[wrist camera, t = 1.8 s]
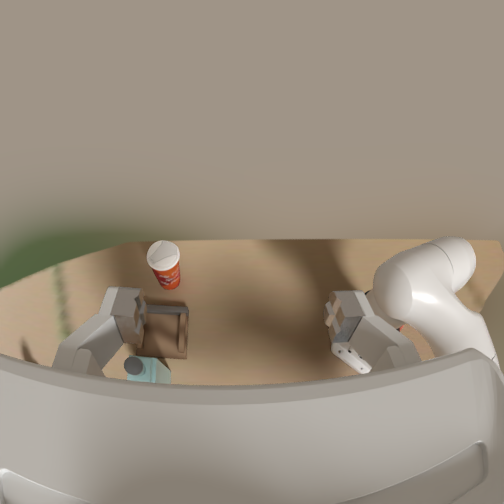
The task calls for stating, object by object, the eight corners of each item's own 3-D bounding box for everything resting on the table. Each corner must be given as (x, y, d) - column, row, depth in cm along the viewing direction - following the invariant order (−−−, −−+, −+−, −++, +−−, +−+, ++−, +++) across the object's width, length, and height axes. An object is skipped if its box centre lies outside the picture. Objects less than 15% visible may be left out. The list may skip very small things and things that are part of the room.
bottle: (170, 392, 58) (147, 383, 38) (148, 390, 57) (116, 379, 37) (171, 371, 61) (149, 351, 41) (149, 369, 60) (119, 347, 40)
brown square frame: (186, 359, 63) (185, 357, 60) (136, 355, 61) (133, 352, 59) (188, 311, 69) (187, 306, 67) (141, 307, 68) (138, 303, 65)
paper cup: (167, 299, 70) (158, 274, 58) (150, 279, 72) (139, 251, 61) (190, 281, 74) (186, 253, 62) (172, 261, 76) (166, 232, 64)
